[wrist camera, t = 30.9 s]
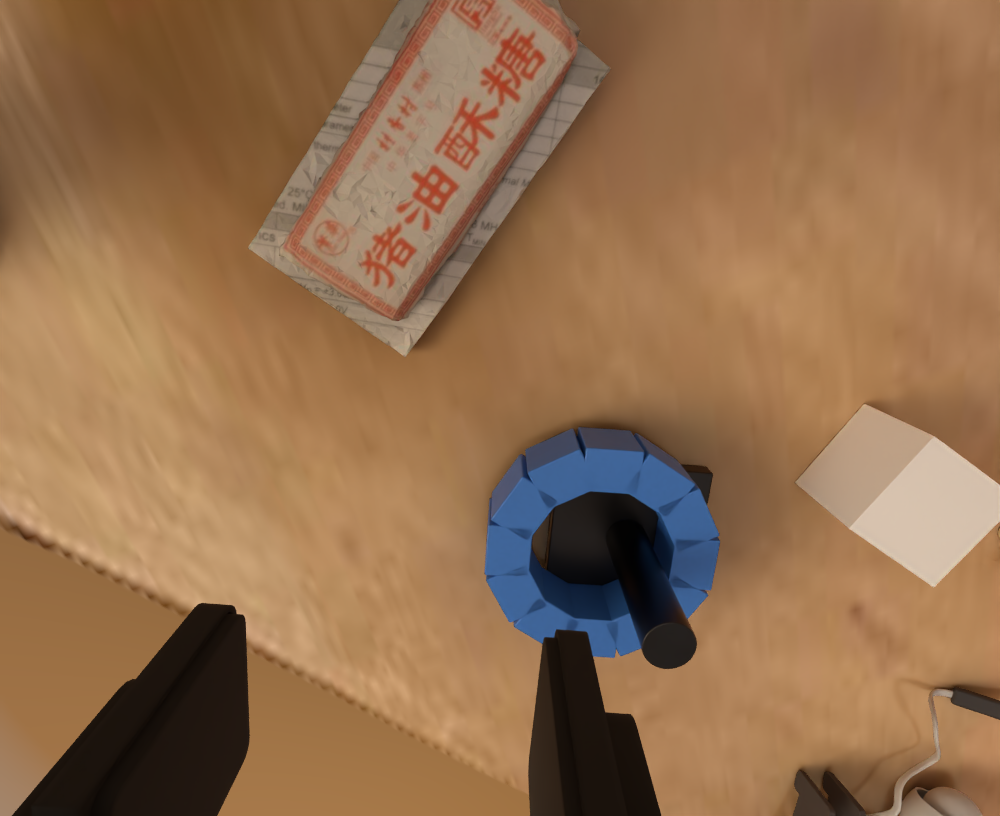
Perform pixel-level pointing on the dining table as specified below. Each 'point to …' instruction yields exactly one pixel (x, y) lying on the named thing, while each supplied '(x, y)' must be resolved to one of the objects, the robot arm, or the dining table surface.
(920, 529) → the white cube
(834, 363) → the dining table surface
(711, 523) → the tape
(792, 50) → the dining table surface
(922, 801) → the clip-on lamp
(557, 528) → the peg stand
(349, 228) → the packaged product
